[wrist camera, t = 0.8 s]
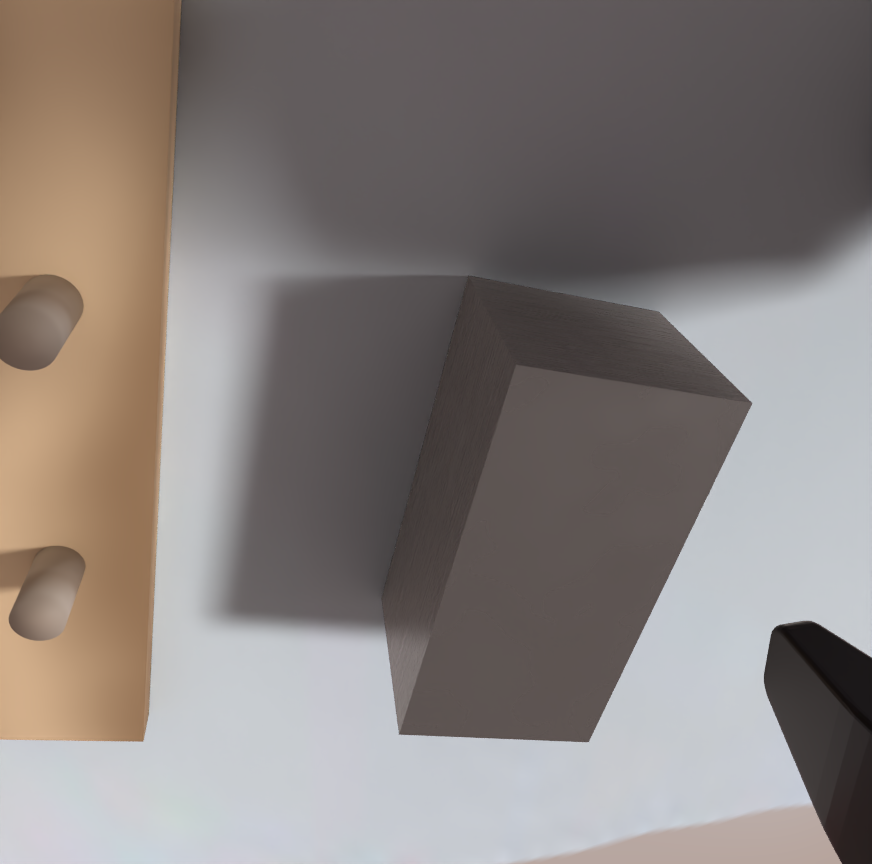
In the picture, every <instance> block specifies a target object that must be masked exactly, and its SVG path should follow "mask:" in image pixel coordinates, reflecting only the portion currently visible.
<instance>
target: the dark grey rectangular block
mask: <svg viewBox="0 0 872 864" xmlns="http://www.w3.org/2000/svg"><path fill="white" fill-rule="evenodd" d="M751 405H752V402H751V401H749V400H748V399H747V398H746V397H745V396H744V395H743V394H742V393H741V392H740V391H739V390H738V389H737V388H736V387H735V386H734V385H733V384H732V383H731V382H730V381H729V380H728V379H727V378H726V377H725V376H724V375H723V374H722V373H721V372H720V371H719V370H718V369H717V368H716V367H715V366H714V365H713V364H712V363H711V362H710V361H709V360H708V359H707V358H706V357H705V356H704V355H702V354H701V353H700V352H699V351H698V350H697V349H696V348H695V347H694V346H693V345H692V344H691V343H690V342H689V341H688V340H687V339H686V338H685V337H684V336H683V335H682V334H681V333H680V332H679V331H678V330H677V329H676V328H675V327H674V326H673V325H672V324H671V323H670V322H669V321H668V320H667V319H666V318H665V317H664V316H663V315H662V314H661V313H660V312H657V311H652V310H647V309H641V308H636V307H631V306H626V305H620V304H615V303H610V302H605V301H599V300H594V299H589V298H583V297H578V296H573V295H568V294H562V293H557V292H552V291H546V290H541V289H536V288H531V287H525V286H520V285H515V284H510V283H504V282H499V281H494V280H488V279H483V278H478V277H473V276H468V279H467V283H466V286H465V290H464V294H463V297H462V301H461V305H460V309H459V312H458V316H457V320H456V323H455V327H454V331H453V335H452V338H451V342H450V346H449V349H448V353H447V357H446V361H445V364H444V368H443V372H442V375H441V379H440V383H439V387H438V390H437V394H436V398H435V401H434V405H433V409H432V413H431V416H430V420H429V424H428V427H427V431H426V435H425V439H424V442H423V446H422V450H421V453H420V457H419V461H418V465H417V468H416V472H415V476H414V479H413V483H412V487H411V490H410V494H409V498H408V502H407V505H406V509H405V513H404V516H403V520H402V524H401V528H400V531H399V535H398V539H397V542H396V546H395V550H394V554H393V557H392V561H391V565H390V568H389V572H388V576H387V580H386V583H385V587H384V591H383V594H382V606H383V613H384V621H385V629H386V637H387V644H388V652H389V660H390V668H391V676H392V683H393V691H394V699H395V707H396V714H397V722H398V730H399V734H401V735H425V736H450V737H474V738H499V739H523V740H548V741H572V742H589V740H590V738H591V736H592V734H593V732H594V730H595V728H596V726H597V723H598V721H599V719H600V717H601V715H602V713H603V711H604V709H605V707H606V705H607V703H608V701H609V699H610V697H611V695H612V692H613V690H614V688H615V686H616V684H617V682H618V680H619V678H620V676H621V674H622V672H623V670H624V668H625V666H626V663H627V661H628V659H629V657H630V655H631V653H632V651H633V649H634V647H635V645H636V643H637V641H638V639H639V637H640V635H641V632H642V630H643V628H644V626H645V624H646V622H647V620H648V618H649V616H650V614H651V612H652V610H653V608H654V606H655V603H656V601H657V599H658V597H659V595H660V593H661V591H662V589H663V587H664V585H665V583H666V581H667V579H668V577H669V575H670V572H671V570H672V568H673V566H674V564H675V562H676V560H677V558H678V556H679V554H680V552H681V550H682V548H683V546H684V543H685V541H686V539H687V537H688V535H689V533H690V531H691V529H692V527H693V525H694V523H695V521H696V519H697V517H698V515H699V512H700V510H701V508H702V506H703V504H704V502H705V500H706V498H707V496H708V494H709V492H710V490H711V488H712V486H713V483H714V481H715V479H716V477H717V475H718V473H719V471H720V469H721V467H722V465H723V463H724V461H725V459H726V457H727V455H728V452H729V450H730V448H731V446H732V444H733V442H734V440H735V438H736V436H737V434H738V432H739V430H740V428H741V426H742V423H743V421H744V419H745V417H746V415H747V413H748V411H749V409H750V407H751Z"/></svg>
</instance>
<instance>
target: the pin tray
mask: <svg viewBox="0 0 872 864" xmlns="http://www.w3.org/2000/svg"><path fill="white" fill-rule="evenodd" d="M181 2H182V0H0V739H6V740H75V741H143V740H144V735H145V730H146V725H147V720H148V715H149V697H150V675H151V653H152V632H153V610H154V588H155V566H156V545H157V523H158V501H159V479H160V458H161V436H162V414H163V393H164V371H165V349H166V327H167V306H168V284H169V262H170V241H171V219H172V197H173V175H174V154H175V132H176V110H177V88H178V67H179V45H180V23H181Z"/></svg>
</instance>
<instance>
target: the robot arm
mask: <svg viewBox="0 0 872 864" xmlns="http://www.w3.org/2000/svg"><path fill="white" fill-rule="evenodd" d="M764 684H765V689H766V693H767V696H768V699H769V701H770V704H771V706H772V708H773V711H774V713H775V716H776V718H777V720H778V723H779V725H780V727H781V730H782V732H783V735H784V737H785V739H786V742H787V744H788V746H789V749H790V751H791V754H792V756H793V758H794V761H795V763H796V766H797V768H798V770H799V773H800V775H801V777H802V780H803V782H804V785H805V787H806V789H807V792H808V794H809V796H810V799H811V801H812V804H813V806H814V808H815V810H816V813H817V815H818V817H819V819H820V822H821V824H822V826H823V828H824V830H825V832H826V834H827V836H828V838H829V840H830V842H831V844H832V846H833V848H834V850H835V852H836V853H837V855H838V857H839V859H840V861H841V862H842V864H872V657H870V656H868V655H867V654H865V653H864V652H862V651H860V650H859V649H857V648H856V647H854V646H853V645H851V644H849V643H848V642H846V641H845V640H843V639H841V638H840V637H838V636H837V635H835V634H834V633H832V632H830V631H829V630H827V629H826V628H824V627H822V626H821V625H819V624H817V623H815V622H812V621H800V622H794V623H788V624H782V625H778V626H776V627H775V628H774V630H773V631H772V634H771V638H770V644H769V649H768V655H767V661H766V666H765V672H764Z"/></svg>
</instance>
